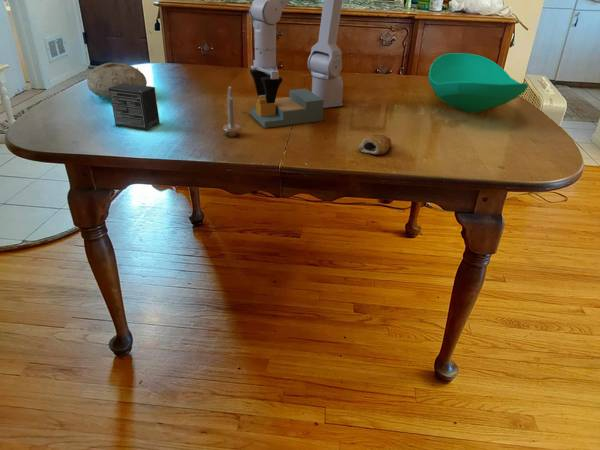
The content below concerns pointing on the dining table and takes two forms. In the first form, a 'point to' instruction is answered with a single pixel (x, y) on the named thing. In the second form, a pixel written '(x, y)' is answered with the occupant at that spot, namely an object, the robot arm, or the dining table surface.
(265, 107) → the block with handle
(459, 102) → the table top decor
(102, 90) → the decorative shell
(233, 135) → the screw
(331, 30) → the robot arm
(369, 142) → the pastry
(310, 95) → the step rack
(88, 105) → the dining table surface
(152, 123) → the small box
